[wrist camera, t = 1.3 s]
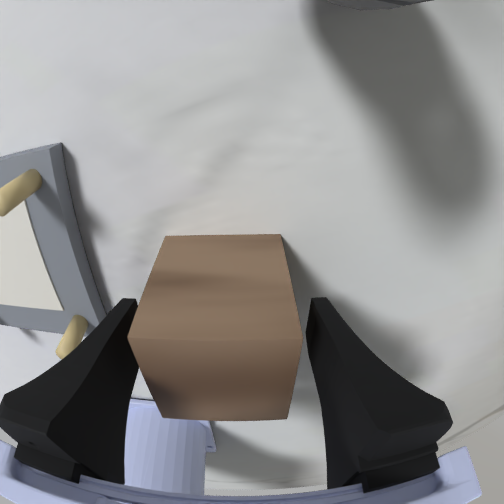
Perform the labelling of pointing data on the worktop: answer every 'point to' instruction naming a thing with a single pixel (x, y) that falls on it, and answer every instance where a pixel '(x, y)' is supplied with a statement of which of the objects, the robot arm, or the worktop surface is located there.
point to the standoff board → (43, 251)
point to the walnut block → (219, 329)
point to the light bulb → (374, 3)
